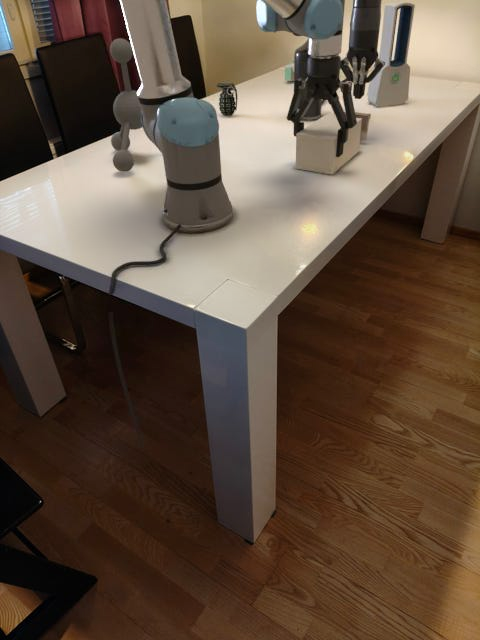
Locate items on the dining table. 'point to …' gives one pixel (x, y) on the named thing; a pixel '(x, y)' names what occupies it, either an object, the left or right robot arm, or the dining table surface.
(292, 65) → the decorative block
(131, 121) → the molecular model
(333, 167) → the cabinet
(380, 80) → the electronic device
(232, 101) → the grenade
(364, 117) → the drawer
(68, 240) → the dining table surface
